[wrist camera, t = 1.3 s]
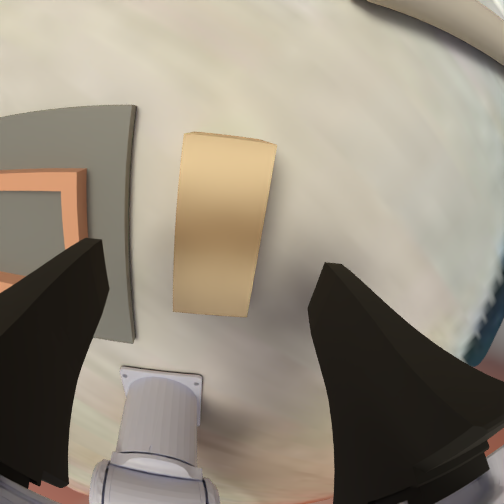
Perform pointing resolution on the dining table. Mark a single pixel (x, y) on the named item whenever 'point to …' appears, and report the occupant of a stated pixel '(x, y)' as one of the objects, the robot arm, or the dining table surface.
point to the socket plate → (69, 197)
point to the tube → (458, 21)
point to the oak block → (219, 222)
